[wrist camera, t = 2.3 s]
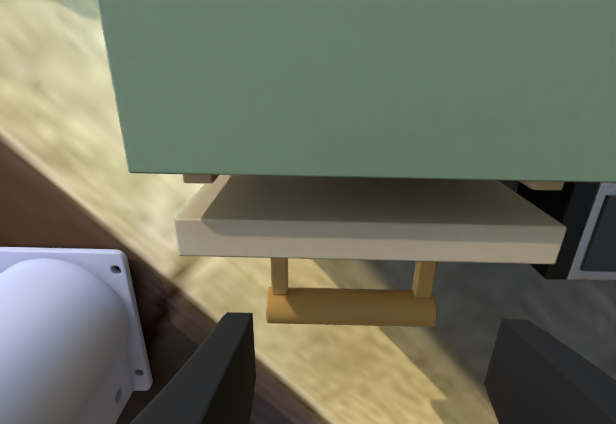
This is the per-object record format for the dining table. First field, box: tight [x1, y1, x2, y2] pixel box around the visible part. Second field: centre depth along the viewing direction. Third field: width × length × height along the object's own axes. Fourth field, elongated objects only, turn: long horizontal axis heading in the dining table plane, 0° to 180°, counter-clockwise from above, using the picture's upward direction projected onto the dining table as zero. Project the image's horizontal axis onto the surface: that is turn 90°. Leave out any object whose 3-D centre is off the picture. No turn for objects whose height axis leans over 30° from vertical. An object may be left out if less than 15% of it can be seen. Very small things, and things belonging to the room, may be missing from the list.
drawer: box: [174, 174, 566, 327], centre depth 12 cm, size 17×11×6 cm, turn 179°
